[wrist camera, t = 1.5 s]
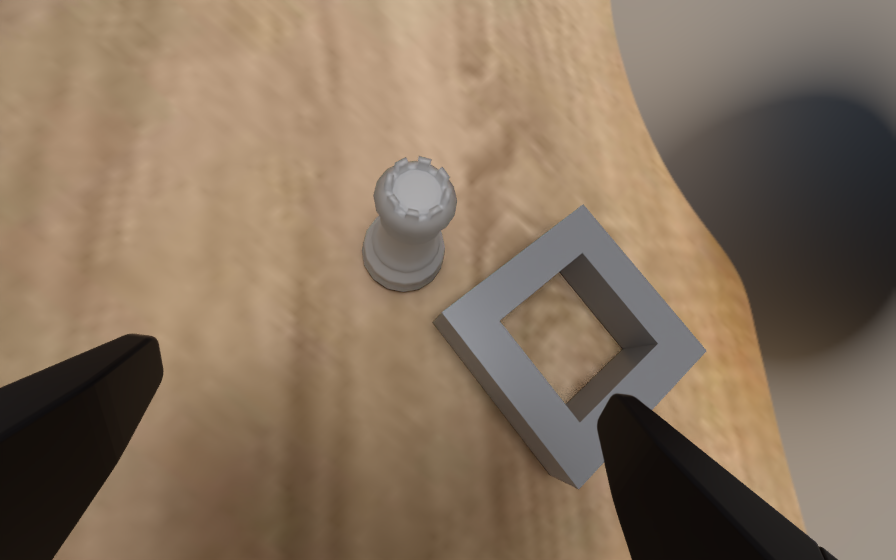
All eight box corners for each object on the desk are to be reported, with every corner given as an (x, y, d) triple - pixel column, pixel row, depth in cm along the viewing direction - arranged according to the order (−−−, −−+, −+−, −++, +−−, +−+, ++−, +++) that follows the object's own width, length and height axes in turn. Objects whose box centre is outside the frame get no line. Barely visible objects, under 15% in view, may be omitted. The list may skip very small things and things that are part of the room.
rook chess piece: (348, 274, 21) (335, 211, 14) (382, 205, 23) (387, 114, 15) (424, 306, 22) (452, 263, 14) (453, 237, 23) (493, 163, 15)
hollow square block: (550, 474, 20) (578, 489, 18) (432, 322, 21) (441, 312, 19) (666, 355, 23) (706, 350, 21) (558, 225, 24) (583, 204, 22)
